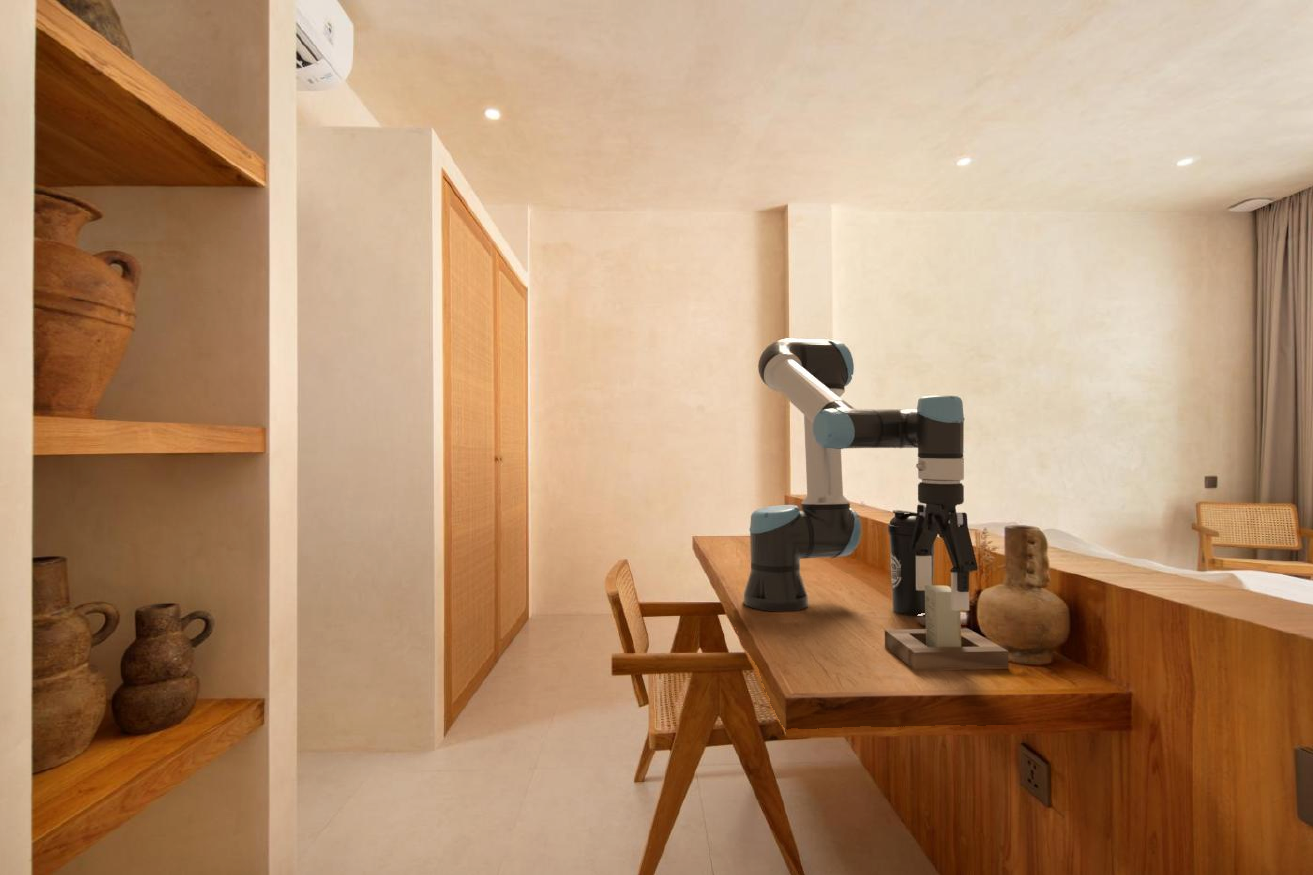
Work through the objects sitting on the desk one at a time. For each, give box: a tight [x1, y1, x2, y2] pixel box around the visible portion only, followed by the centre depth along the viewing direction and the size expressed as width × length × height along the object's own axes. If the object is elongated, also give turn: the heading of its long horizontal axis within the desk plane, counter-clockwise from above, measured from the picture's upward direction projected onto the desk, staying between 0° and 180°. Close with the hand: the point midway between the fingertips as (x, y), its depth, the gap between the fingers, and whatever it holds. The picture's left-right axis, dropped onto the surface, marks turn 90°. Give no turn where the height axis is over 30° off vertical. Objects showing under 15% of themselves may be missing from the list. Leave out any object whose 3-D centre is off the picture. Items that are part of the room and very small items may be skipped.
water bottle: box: [887, 509, 935, 617], centre depth 141 cm, size 10×10×23 cm
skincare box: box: [924, 584, 962, 647], centre depth 111 cm, size 6×4×12 cm
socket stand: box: [884, 628, 1010, 671], centre depth 111 cm, size 13×16×3 cm
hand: (940, 599), depth 111 cm, fingers open, 13 cm apart
